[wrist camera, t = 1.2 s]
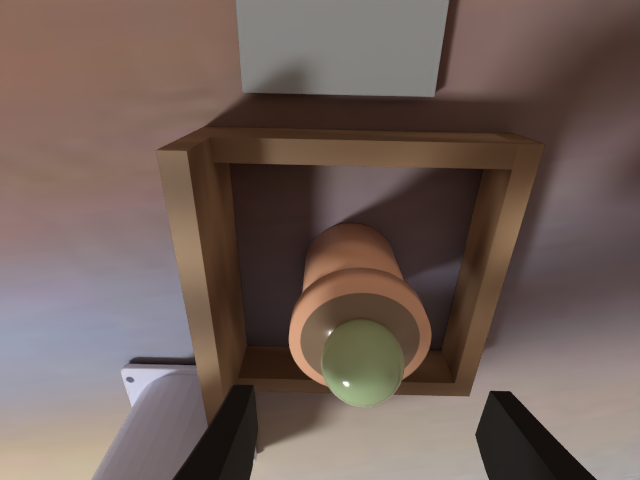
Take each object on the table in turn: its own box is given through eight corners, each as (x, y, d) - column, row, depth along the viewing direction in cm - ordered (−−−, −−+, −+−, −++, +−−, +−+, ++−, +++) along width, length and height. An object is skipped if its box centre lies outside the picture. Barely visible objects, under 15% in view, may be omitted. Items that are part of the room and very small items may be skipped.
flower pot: (394, 306, 20) (437, 451, 12) (299, 303, 20) (283, 447, 12) (406, 217, 18) (469, 332, 10) (298, 215, 18) (278, 327, 10)
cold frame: (454, 362, 22) (487, 438, 17) (232, 357, 22) (208, 431, 17) (513, 133, 16) (589, 160, 11) (203, 126, 16) (155, 150, 11)
